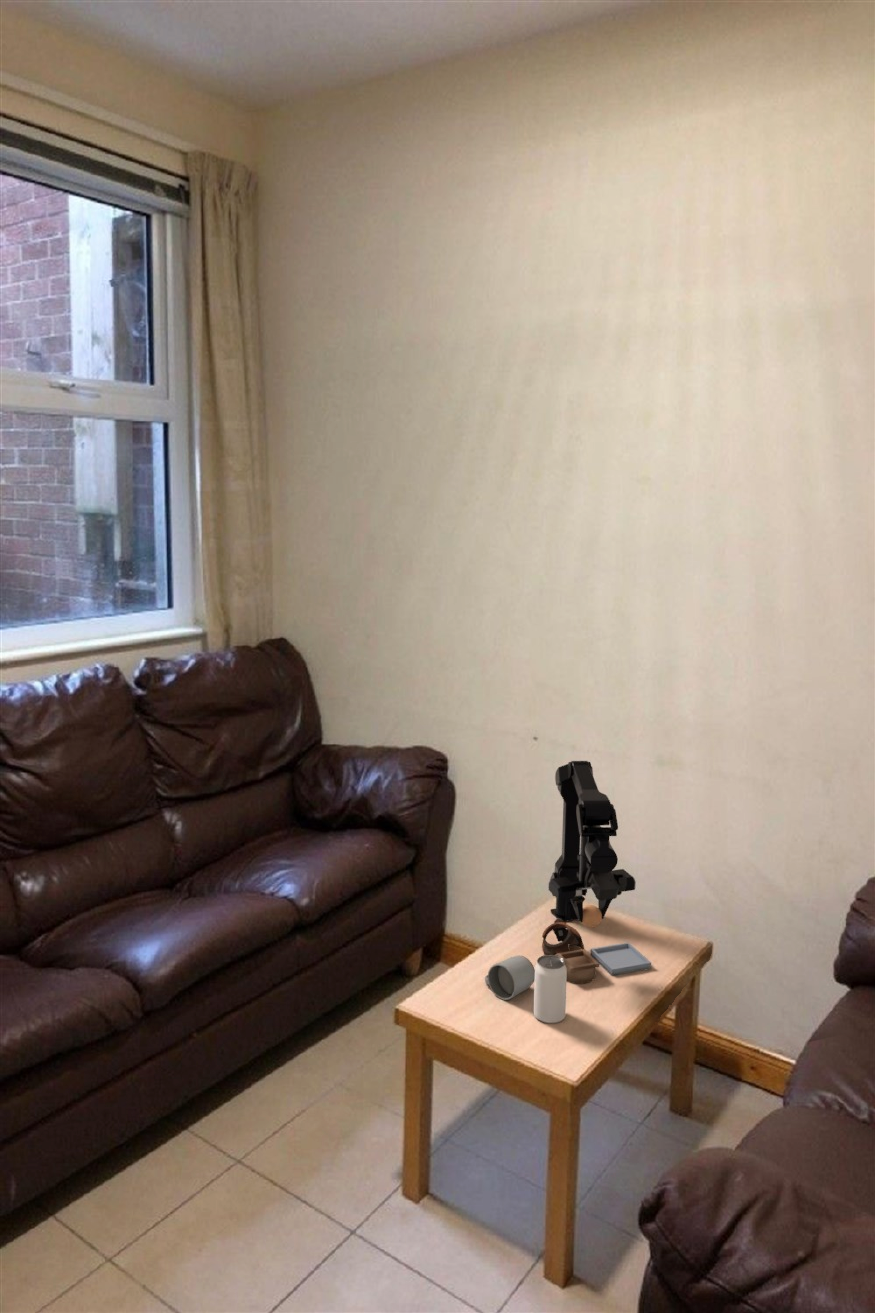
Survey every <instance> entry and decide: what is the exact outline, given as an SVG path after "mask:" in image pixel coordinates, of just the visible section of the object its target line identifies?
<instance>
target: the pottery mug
mask: <svg viewBox="0 0 875 1313" xmlns="http://www.w3.org/2000/svg"><path fill="white" fill-rule="evenodd" d="M551 932H553V933H554V935H555V937H556V939H557V941H558V942H559V943H555V944H554V943H553V944H552V943H549V942H547V936H548V935H549V934H550V933H551ZM541 938H543V939H542V944H541V949H542V952H543V954H544V955H555V956H556V954H557V953H563V952H569V951H571V950H570V946H574V947H575V946H576V947H578V948H579V949H580V950H581V949H585V946H584V942H583V939H582V938H583V937H582V936H581V934H580V933H579V931H578V930H577V929H576V928H574V927H572V926H571V925H569V924H568V923H566V922H565V921H563V920H562V919H561V918H556V919H555V920H554V922H553V923H552V924H549V925H548V926H547V927H546V928H545V929H544V930H543V932H542V935H541Z"/></svg>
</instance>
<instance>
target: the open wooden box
mask: <svg viewBox="0 0 875 1313" xmlns="http://www.w3.org/2000/svg"><path fill="white" fill-rule="evenodd" d="M555 956H559V957H561V958H562V959H563V960H564V961H565V966H566V969H567V980H566V982H568V983H571V984H580V985H582V984H588V983H591V982H593V981H594V980H595V978H596V972H597V971H596V970H597V969H596V968H599V967H600V964H599V963H598V962H597V961H596V960H595V959H594V958H593V957H592V956H591V955H590V952H588V951H587V950H586V949H585V948H584V949H581V948H580V949H575V950H570V951H569V952H563V953H557V954H556V955H555Z"/></svg>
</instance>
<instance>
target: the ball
mask: <svg viewBox="0 0 875 1313" xmlns="http://www.w3.org/2000/svg"><path fill="white" fill-rule="evenodd" d="M602 920H603V919H602V914H601V911H600V910H599V909H598V907H597V906H596V905H592V904H587V905H585V906H583V920H582V922H581V923H582V924H583V925H584V926H586V927H587V928H594V927H598V926H599V924H601V922H602Z"/></svg>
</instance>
